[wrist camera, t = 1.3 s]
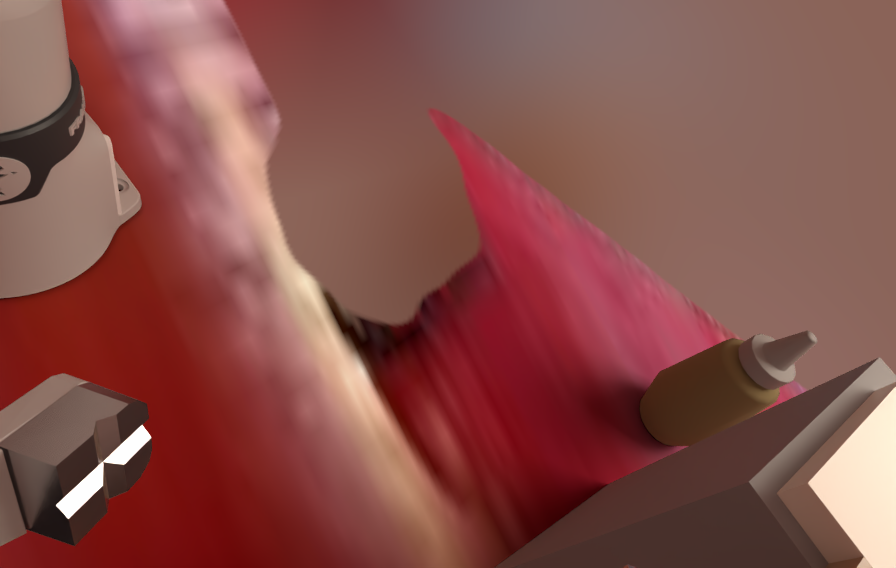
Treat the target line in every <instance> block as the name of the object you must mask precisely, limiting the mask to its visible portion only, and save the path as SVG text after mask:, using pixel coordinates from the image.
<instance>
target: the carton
mask: <svg viewBox="0 0 896 568" xmlns="http://www.w3.org/2000/svg"><path fill="white" fill-rule="evenodd" d="M894 382H896V375H895V374H894V373H893V372H892V371H891V369H890V368H889V367H888V366H887V365H886V364H885V363H884V361H883V360H882V359H881V358H880V357H879V358H877V359H875V360H873V361H871V362H868V363H866V364H864V365H862V366H860V367H858V368H855V369H854V370H851V371H849V372H847V373H845V374H843V375H841V376H838V377H836V378H834V379H832V380H830V381H828V382H826V383H824V384H821V385H819V386H817V387H815V388H813V389H811V390H808V391H806V392H804V393H802V394H800V395H798V396H796V397H793V398H791V399H789V400H787V401H785V402H783V403H781V404H779V405H776V406H774V407H772V408H770V409H768V410H766V411H764V412H761V413H759V414H757V415H755V416H753V417H751V418H749V419H746V420H744V421H742V422H740V423H738V424H736V425H734V426H732V427H729V428H727V429H725V430H723V431H721V432H719V433H717V434H714V435H712V436H710V437H708V438H706V439H704V440H702V441H699V442H697V443H695V444H693V445H691V446H689V447H687V448H685V449H682V450H680V451H678V452H676V453H674V454H672V455H670V456H667V457H665V458H663V459H661V460H659V461H657V462H655V463H652V464H650V465H648V466H646V467H644V468H642V469H640V470H637V471H635V472H633V473H631V474H629V475H627V476H625V477H623V478H620V479H618V480H616V481H614V482H612V483H610V484H608V485H606V486H605V487H604V488H602V489H601V490H600V491H598V492H597V493H596V494H594V495H593V496H591V497H590V498H589V499H587V500H586V501H585V502H583V503H582V504H581V505H579V506H578V507H576V508H575V509H574V510H572V511H571V512H570V513H568V514H567V515H566V516H564V517H563V518H561V519H560V520H559V521H557V522H556V523H555V524H553V525H552V526H551V527H549V528H548V529H546V530H545V531H544V532H542V533H541V534H540V535H538V536H537V537H535V538H534V539H533V540H531V541H530V542H529V543H527V544H526V545H525V546H523V547H522V548H520V549H519V550H518V551H516V552H515V553H514V554H512V555H511V556H510V557H508V558H507V559H505V560H504V561H503V562H501V563H500V564H499V565H497V566H496V567H495V568H623V567H624V566H626V565H627V564H628V565H631V566H634V567H637V568H826V566H827V565H828V564H829V563H828V562H827V560H826V559H825V558H824V556H823V555H822V554H821V552H820V551H819V550H818V548H817V547H816V546H815V544H814V543H813V542H812V540H811V539H810V538H809V536H808V535H807V534H806V532H805V531H804V530H803V528H802V527H801V526H800V524H799V523H798V521H797V520H796V519H795V517H794V516H793V515H792V513H791V512H790V511H789V509H788V508H787V507H786V505H785V504H784V503H783V501H782V500H781V499H780V497H779V496H778V495H777V492H778V491H779V490H780V489H781V488H782V487H783V486H784V485H785V484H786V483H787V482H788V481H789V480H790V479H791V478H792V477H793V476H794V475H795V473H796V472H797V471H798V470H799V469H800V468H801V467H802V466H803V465H804V464H805V463H806V462H807V461H808V460H809V459H810V458H811V457H812V456H813V455H814V454H815V453H816V452H817V451H818V450H819V448H820V447H821V446H822V445H823V444H824V443H825V442H826V441H827V440H828V439H829V438H830V437H831V436H832V435H833V434H834V433H835V432H836V431H837V430H838V429H839V428H840V427H841V426H842V425H843V423H844V422H845V421H846V420H847V419H848V418H849V417H850V416H851V415H852V414H853V413H854V412H855V411H856V410H857V409H858V408H859V407H860V406H861V405H862V404H863V403H864V402H865V401H866V400H867V398H868V397H869V396H870V395H871V394H872V393H873V392H874V391H876V390H878V389H880V388H883V387H885V386H887V385H890V384H892V383H894Z"/></svg>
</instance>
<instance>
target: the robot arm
mask: <svg viewBox="0 0 896 568" xmlns="http://www.w3.org/2000/svg"><path fill="white" fill-rule="evenodd" d="M84 108H85V98H84V92H83V88H82V86H80V81H79V75H78V72H77V69H76V67H75V65H74V64H73V62H72V60H71V59H70V58H69V54H68V47H67V39H66V32H65V25H64V17H63V10H62V2H61V0H0V298H10V297H18V296H24V295H29V294H34V293H38V292H41V291H45V290H48V289H51V288H54V287H56V286H59V285H61V284H63V283H65V282H68V281H70V280H71V279H73V278H75V277H77V276H78V275H80V274H81V273H83V272H84V271H86V270H87V269H88V268H90V267H91V266H92V265H93V264H94V263H95V262H96V261H97V260H98V259H99V258H100V257H101V256H102V255H103V253H104V252H105V250H106V249H107V247H108V246H109V244H110V242H111V239H112V237H113V235H114V233H115V232H116V230H117V229H118V227H119V226H120V225H121V224H123V223H124V222H125V221H127V220H128V219H129V218H131V217H132V216H133V215H134V214H136V213H137V212H138V211H139V209H140V208H141V205H142V202H141V198H140V194H139V192H138V191H137V189H136V188H135V187H134V185H133V184H132V183H131V181H130V180H129V178H128V177H127V176H126V174H125V173H124V172H123V170H122V169H121V168H120V166H119V165H118V164H117V162H116V161H115V160H114V155H113V148H112V143H111V140H110V138H109V136H107V135H104V134H102V132H101V130H100V129H99V127H98V126H97V124H96V123H95V122H94V121H93V120H92V119H91V117H90V116H89V115H88V114H87V113H86V112H85V109H84ZM119 190H122V191H119ZM148 419H149V415H148V409H147V404H146V403H144V402H141V401H139V400H136V399H133V398H131V397H128V396H125V395H122V394H120V393H117V392H114V391H112V390H109V389H106V388H104V387H101V386H98V385H96V384H93V383H90V382H87V381H84V380H81V379H79V378H76V377H73V376H70V375H67V374H64V373H63V374H59V375H55V376H51V377H50V378H48V379H47V380H45V381H44V382H42V383H41V384H40V385H38V386H37V387H35V388H34V389H32V390H31V391H29V392H28V393H26V394H25V395H24V396H22V397H21V398H19V399H18V400H16V401H15V402H13V403H12V404H10V405H9V406H8V407H6V408H5V409H3V410H2V411H0V546H2V545H4V544H6V543H8V542H9V541H11V540H13V539H15V538H17V537H19V536H21V535H23V534H25V533H26V532H27V531H26V530H29V531H32V532H35V533H38V534H41V535H44V536H47V537H50V538H53V539H56V540H58V541H61V542H64V543H67V544H70V545H73V546H75V545H76V544H77V543H78V542H79V541H80V540H81V539H82V538H83V537H84V536H85V535H86V534H87V533H88V532H89V531H90V530H91V529H92V528H93V527H94V526H95V524H96V523H97V522H98V521H99V520H100V519H101V518H102V517H103V516H104V515H105V514H106V513H107V510H108V503H109V499H110V498H112V497H114V496H117V495H119V494H122V493H124V492H127V491H128V490H129V489H130V488H131V487H132V486H133V485H134V484H135V483H136V481H137V480H138V479H139V478H140V477H141V475H142V473H143V471H144V470H145V468H146V466H147V464H148V462H149V460H150V456H151V451H152V441H151V437H150V435H149V434H148V432H147V431H146V430H145V428H144V427H143V424H144V423H145V422H146V421H147V420H148ZM623 568H637V567H634V566H631V565H628V564H627V565H626V566H624V567H623Z"/></svg>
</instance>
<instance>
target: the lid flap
mask: <svg viewBox="0 0 896 568" xmlns="http://www.w3.org/2000/svg"><path fill="white" fill-rule="evenodd" d="M777 495H778V496H779V497H780V499H781V500H782V501H783V503H784V504H785V505H786V507H787V508H788V509H789V511H790V512H791V513H792V515H793V516H794V517H795V519H796V520H797V521H798V523H799V524H800V526H801V527H802V528H803V530H804V531H805V532H806V534H807V535H808V536H809V538H810V539H811V540H812V542H813V543H814V544H815V546H816V547H817V548H818V550H819V551H820V552H821V554H822V555H823V556H824V558H825V559H826V560H827V562H828V563H829V564H828V565H827V566H826V568H896V382H894V383H892V384H890V385H887V386H885V387H883V388H880V389H878V390H876V391H874V392H873V393H872V394H871V395H870V396H869V397H868V398H867V400H866V401H865V402H864V403H863V404H862V405H861V406H860V407H859V408H858V409H857V410H856V411H855V412H854V413H853V414H852V415H851V416H850V417H849V418H848V419H847V420H846V421H845V422H844V423H843V425H842V426H841V427H840V428H839V429H838V430H837V431H836V432H835V433H834V434H833V435H832V436H831V437H830V438H829V439H828V440H827V441H826V442H825V443H824V444H823V445H822V446H821V447H820V448H819V450H818V451H817V452H816V453H815V454H814V455H813V456H812V457H811V458H810V459H809V460H808V461H807V462H806V463H805V464H804V465H803V466H802V467H801V468H800V469H799V470H798V471H797V472H796V473H795V475H794V476H793V477H792V478H791V479H790V480H789V481H788V482H787V483H786V484H785V485H784V486H783V487H782V488H781V489H780V490H779V491H778V492H777Z"/></svg>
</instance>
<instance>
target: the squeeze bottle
mask: <svg viewBox="0 0 896 568" xmlns="http://www.w3.org/2000/svg"><path fill="white" fill-rule="evenodd" d="M816 343H817V339H816V337H815V335H814V334H813V333H812V332H810V331H805V332H801V333H798V334H795V335H792V336H788V337H785V338H782V339H778V340H775V339H773V338H771V337H770V336H767V335H763V334H758V335H755V336H753V337H751V338H750V339H748V340H746V341H743V340H738V339H734V338H732V339H729V340H726V341H723V342H721V343H719V344H717V345H715V346H713V347H711V348H709V349H706V350H704V351H702V352H700V353H698V354H696V355H694V356H692V357H690V358H688V359H685V360H683V361H681V362H679V363H677V364H675V365H673V366H671V367H669V368H666V369H664V370H662V371H660V372H659V373H658V375H657V376H656V378H655V379H654V380H653V382H652V383H651V385H650V387H649V388H648V390H647V391H646V393H645V394H644V396H643V397H642V399H641V400H640V408H639V410H640V414H641V418H642V421H643V423H644V425H645V427H646V428H647V430H648V431H649V432H650V434H651V435H652V436H653V437H654V438H655V439H656V440H658V441H660V442H662V443H663V444H665V445H670V446H691V445H693V444H695V443H697V442H699V441H702V440H704V439H706V438H708V437H710V436H712V435H714V434H717V433H719V432H721V431H723V430H725V429H727V428H729V427H732V426H734V425H736V424H738V423H740V422H742V421H744V420H746V419H749V418H751V417H753V416H754V415H756V414H757V413H759V412H761V411H762V410H764V409H765V408H767V407H768V406H770V405H772V404H773V403H775V402H776V400H777V398H778V396H779V394H780V393H779V387H781V386H783V385H785V384H787V383H789V382H791V381H793V380H794V377H795V375H796V373H795V365H794V363H795V362H796V361H797V360H798V359H799V358H800V357H802V355H804V354H805V353H806V352H807V351H808V350H809V349H810V348H812V347H813V346H814V345H815V344H816Z"/></svg>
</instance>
